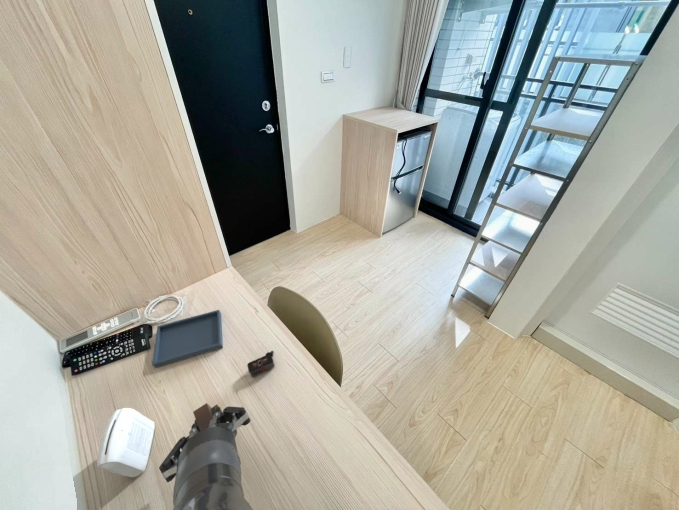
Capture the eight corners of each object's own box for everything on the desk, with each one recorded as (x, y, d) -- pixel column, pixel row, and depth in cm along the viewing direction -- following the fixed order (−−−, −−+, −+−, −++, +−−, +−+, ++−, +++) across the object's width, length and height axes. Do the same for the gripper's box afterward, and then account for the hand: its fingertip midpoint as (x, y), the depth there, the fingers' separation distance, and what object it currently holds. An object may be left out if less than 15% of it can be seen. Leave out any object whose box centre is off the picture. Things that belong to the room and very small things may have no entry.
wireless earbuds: (278, 366, 73) (276, 361, 71) (252, 378, 70) (249, 373, 68) (273, 351, 76) (271, 346, 73) (248, 362, 73) (245, 357, 71)
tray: (155, 368, 72) (151, 364, 71) (160, 329, 80) (157, 326, 79) (222, 347, 76) (220, 344, 75) (221, 313, 85) (219, 309, 83)
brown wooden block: (236, 445, 50) (225, 435, 45) (214, 461, 48) (201, 453, 43) (220, 408, 55) (209, 395, 50) (200, 421, 53) (186, 409, 48)
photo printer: (137, 425, 63) (106, 407, 54) (157, 419, 63) (130, 402, 55) (123, 480, 55) (85, 470, 47) (146, 474, 56) (112, 463, 48)
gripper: (246, 412, 38) (234, 377, 53) (133, 493, 31) (157, 426, 47) (270, 456, 38) (251, 409, 54) (164, 544, 32) (177, 462, 47)
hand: (207, 417), depth 50 cm, fingers closed on brown wooden block, 2 cm apart
